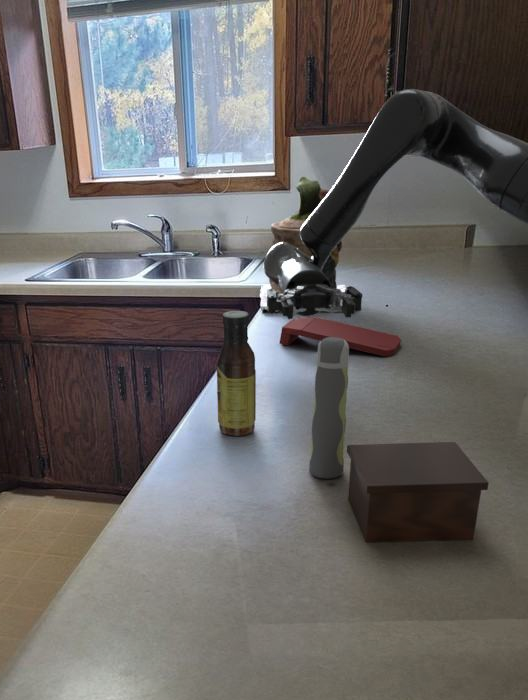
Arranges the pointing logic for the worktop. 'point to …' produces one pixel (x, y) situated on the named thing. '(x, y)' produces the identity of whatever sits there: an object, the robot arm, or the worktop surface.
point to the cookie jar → (291, 234)
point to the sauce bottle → (236, 377)
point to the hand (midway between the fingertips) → (320, 311)
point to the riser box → (414, 491)
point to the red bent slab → (340, 335)
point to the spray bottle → (329, 409)
